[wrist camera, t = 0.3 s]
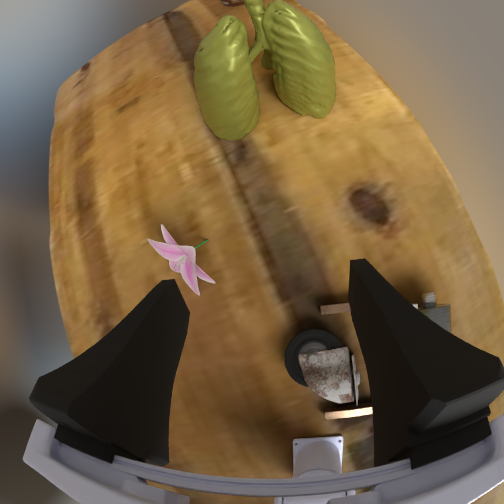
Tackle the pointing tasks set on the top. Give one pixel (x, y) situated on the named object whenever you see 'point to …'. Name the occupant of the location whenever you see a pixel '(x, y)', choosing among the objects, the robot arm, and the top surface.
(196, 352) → the top surface
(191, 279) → the lily
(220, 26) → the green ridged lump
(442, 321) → the motor mount
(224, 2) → the food container
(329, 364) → the caster wheel
